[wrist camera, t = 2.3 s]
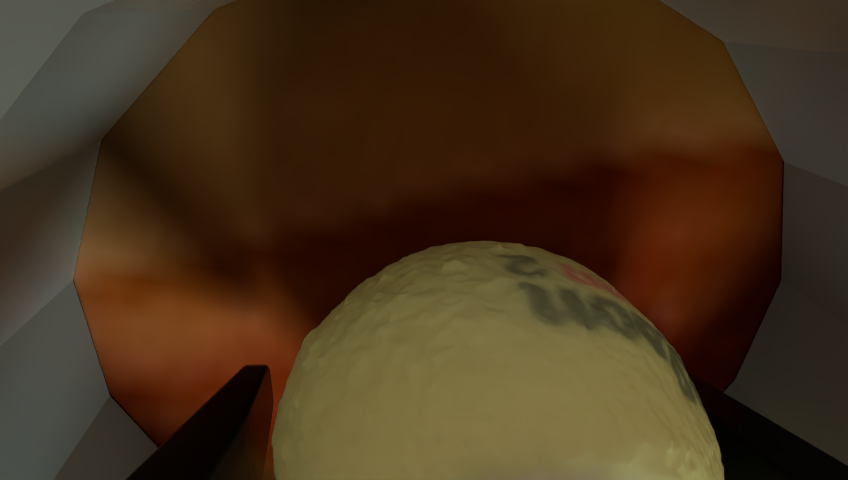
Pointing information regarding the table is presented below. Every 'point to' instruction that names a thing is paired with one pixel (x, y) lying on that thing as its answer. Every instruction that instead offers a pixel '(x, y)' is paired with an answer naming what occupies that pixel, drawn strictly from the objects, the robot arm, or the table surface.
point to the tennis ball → (490, 379)
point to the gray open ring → (163, 37)
